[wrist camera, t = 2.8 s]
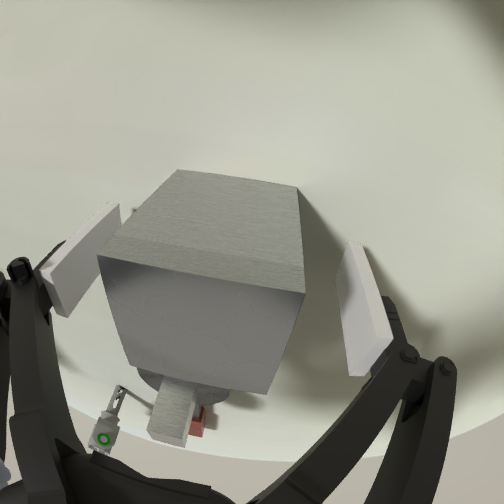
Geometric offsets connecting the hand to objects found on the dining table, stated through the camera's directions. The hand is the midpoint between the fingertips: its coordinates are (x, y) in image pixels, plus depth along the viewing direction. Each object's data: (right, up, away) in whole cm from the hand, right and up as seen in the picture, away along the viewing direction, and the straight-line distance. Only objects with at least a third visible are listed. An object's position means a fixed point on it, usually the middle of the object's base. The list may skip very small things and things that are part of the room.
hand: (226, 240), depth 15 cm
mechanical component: (-16, -19, +17) cm, 30 cm away
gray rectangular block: (0, +1, +1) cm, 1 cm away
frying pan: (-6, -17, +14) cm, 22 cm away
